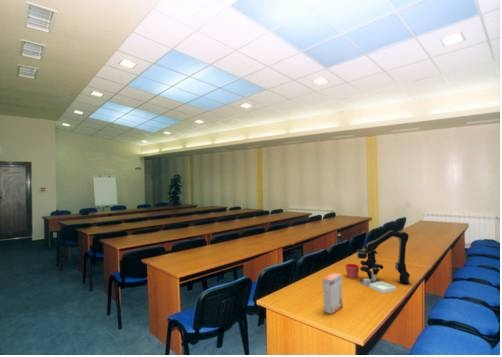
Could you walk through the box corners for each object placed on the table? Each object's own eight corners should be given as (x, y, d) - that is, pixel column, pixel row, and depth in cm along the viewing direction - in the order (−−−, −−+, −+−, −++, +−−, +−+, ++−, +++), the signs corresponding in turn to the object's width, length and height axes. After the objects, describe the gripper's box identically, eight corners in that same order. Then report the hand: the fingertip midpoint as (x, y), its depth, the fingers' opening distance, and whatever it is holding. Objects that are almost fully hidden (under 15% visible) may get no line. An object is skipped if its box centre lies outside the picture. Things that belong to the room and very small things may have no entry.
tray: (381, 285, 204) (381, 281, 204) (395, 290, 193) (395, 286, 193) (369, 288, 199) (369, 283, 199) (383, 294, 188) (383, 289, 188)
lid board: (370, 279, 217) (370, 278, 217) (381, 283, 206) (381, 282, 206) (356, 282, 211) (356, 280, 211) (367, 287, 201) (367, 285, 201)
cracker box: (334, 304, 175) (333, 272, 175) (343, 307, 170) (342, 274, 171) (323, 311, 165) (321, 277, 166) (332, 315, 161) (330, 280, 161)
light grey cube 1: (371, 278, 214) (371, 273, 214) (376, 280, 211) (375, 274, 211) (368, 279, 212) (368, 274, 212) (373, 281, 209) (372, 275, 209)
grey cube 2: (368, 283, 206) (367, 278, 206) (371, 285, 202) (370, 280, 202) (363, 284, 206) (363, 278, 206) (366, 286, 202) (366, 280, 202)
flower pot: (351, 280, 216) (350, 268, 216) (343, 276, 226) (342, 264, 226) (362, 278, 218) (362, 266, 219) (353, 274, 229) (353, 263, 229)
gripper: (372, 254, 223) (372, 273, 222) (354, 257, 216) (355, 277, 215) (383, 258, 212) (384, 277, 212) (365, 261, 205) (366, 281, 205)
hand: (372, 278), depth 211 cm, fingers closed on light grey cube 1, 4 cm apart
